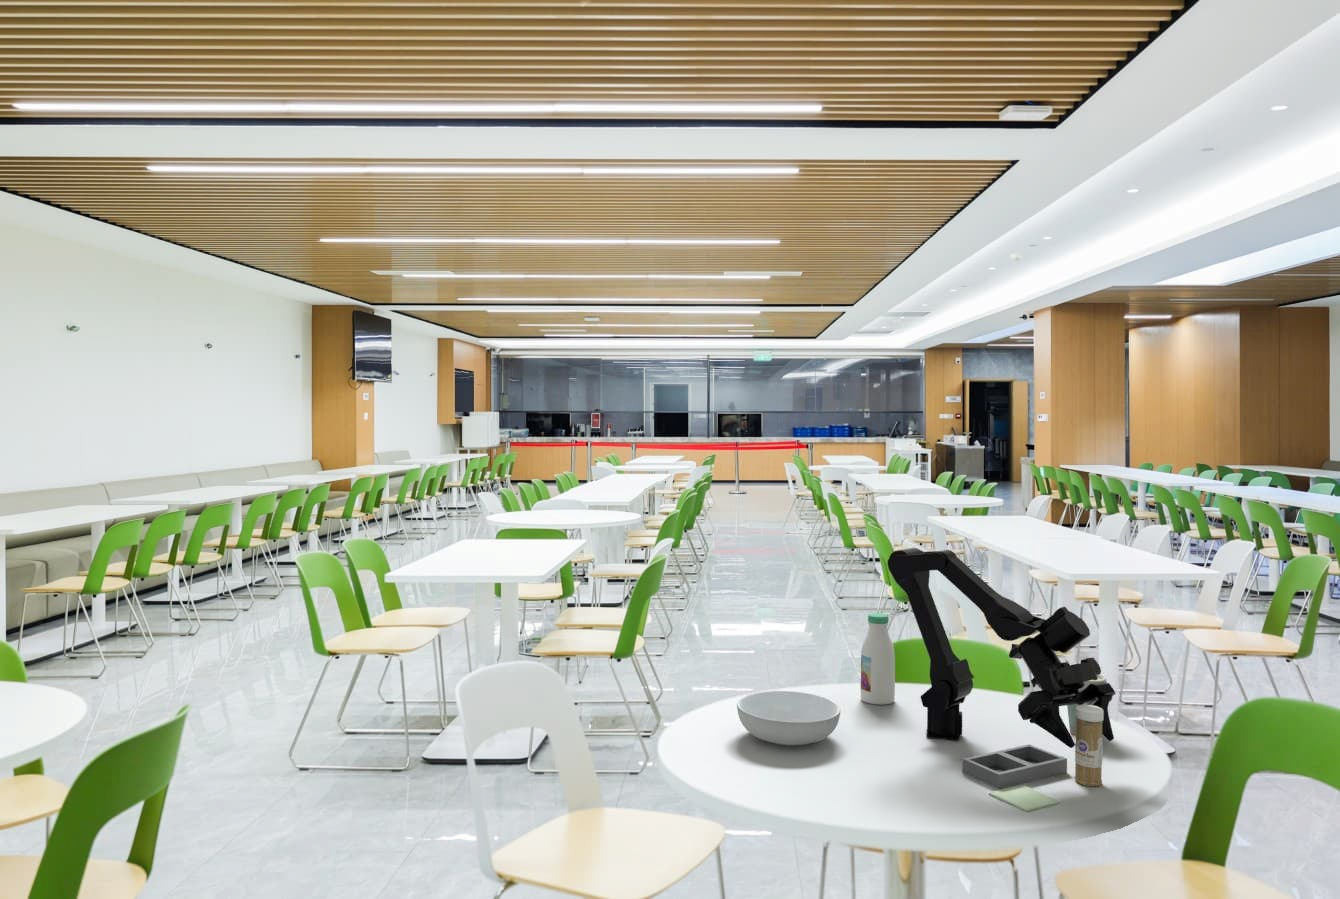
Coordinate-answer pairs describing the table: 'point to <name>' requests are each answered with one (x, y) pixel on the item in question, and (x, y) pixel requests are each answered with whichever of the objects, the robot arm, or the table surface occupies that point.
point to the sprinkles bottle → (1088, 744)
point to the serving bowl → (788, 716)
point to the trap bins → (1014, 766)
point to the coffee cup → (1072, 707)
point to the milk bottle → (878, 663)
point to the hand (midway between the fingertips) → (1092, 743)
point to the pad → (1024, 798)
